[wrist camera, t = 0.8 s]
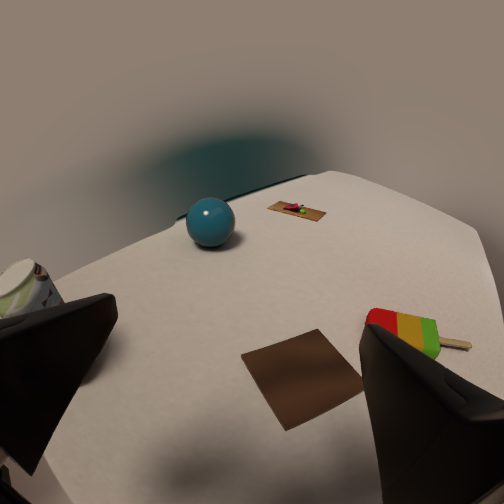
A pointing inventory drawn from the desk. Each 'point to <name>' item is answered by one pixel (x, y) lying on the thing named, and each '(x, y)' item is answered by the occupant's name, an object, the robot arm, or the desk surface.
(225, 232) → the ball
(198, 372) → the desk surface
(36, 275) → the beverage can
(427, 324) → the popsicle
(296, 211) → the board
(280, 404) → the coaster
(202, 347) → the desk surface
